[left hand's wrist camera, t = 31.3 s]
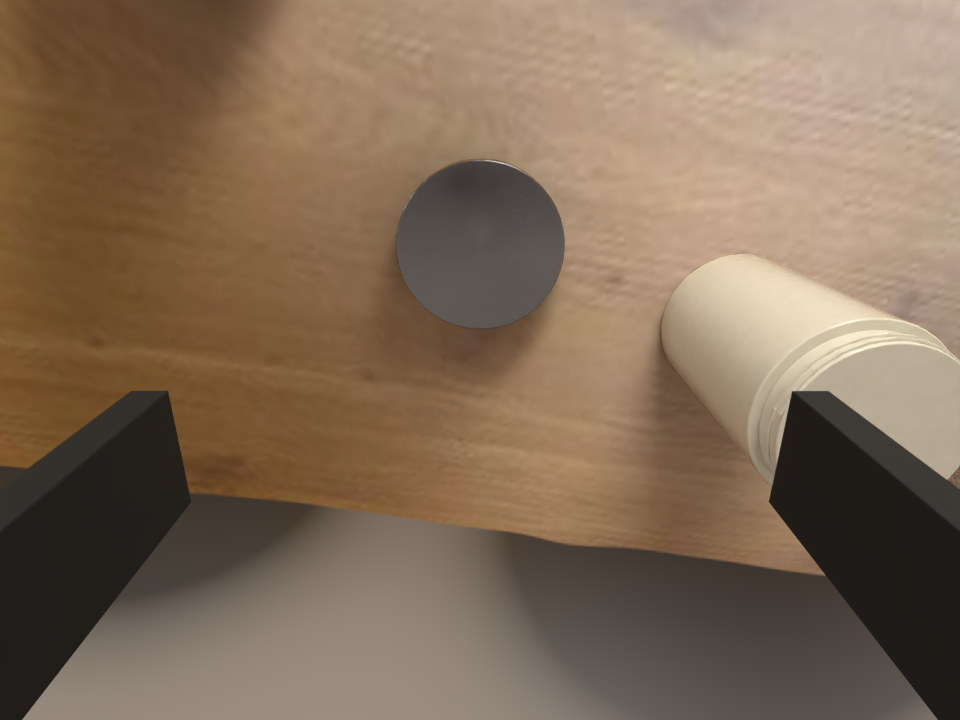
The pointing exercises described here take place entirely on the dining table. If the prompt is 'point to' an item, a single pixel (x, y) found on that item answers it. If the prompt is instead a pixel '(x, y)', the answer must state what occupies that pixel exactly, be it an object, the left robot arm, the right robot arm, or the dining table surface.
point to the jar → (807, 359)
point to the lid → (480, 243)
